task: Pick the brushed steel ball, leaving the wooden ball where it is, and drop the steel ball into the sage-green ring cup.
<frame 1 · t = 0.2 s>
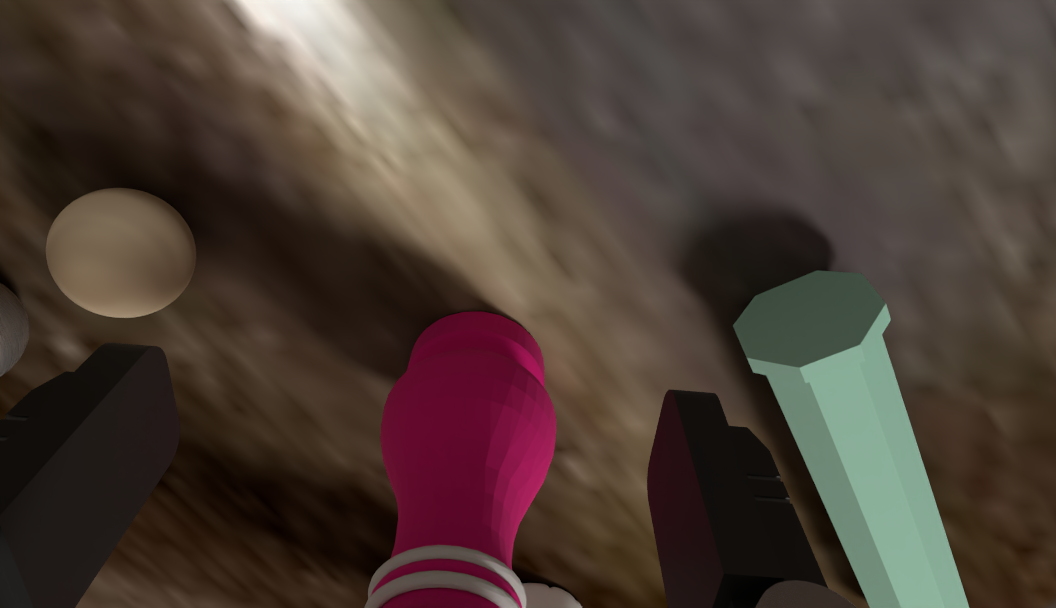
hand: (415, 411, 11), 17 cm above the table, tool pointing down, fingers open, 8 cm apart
mint green faceted rod: (853, 463, 36), on the table
wooden ball: (155, 225, 29), on the table
water bottle: (549, 607, 42), on the table
pepper mill: (478, 362, 33), on the table
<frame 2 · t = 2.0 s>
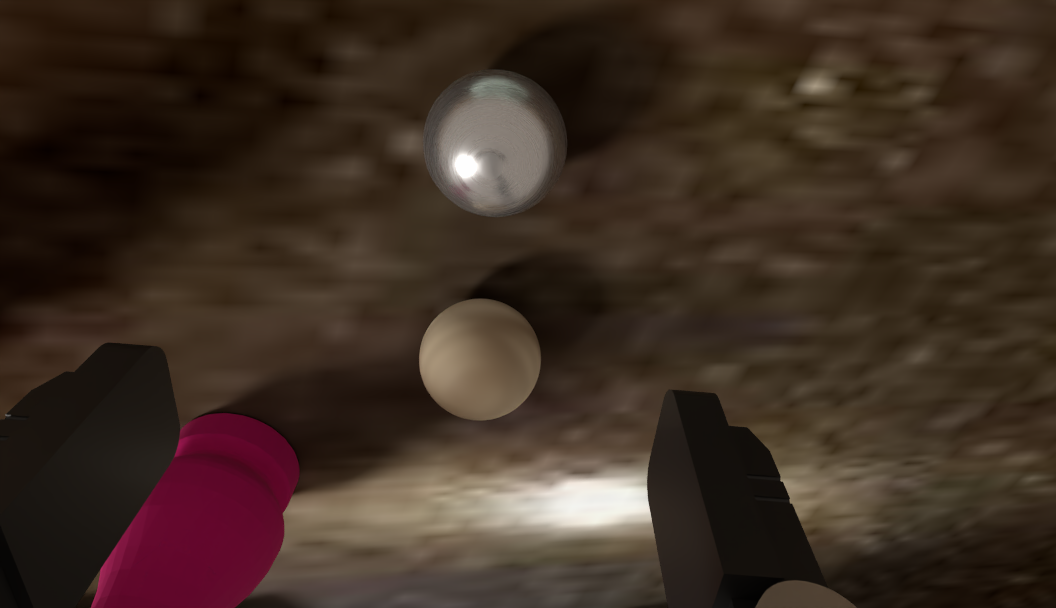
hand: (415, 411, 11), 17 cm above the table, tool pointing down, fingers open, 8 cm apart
wooden ball: (485, 327, 31), on the table
steel ball: (499, 125, 26), on the table
pepper mill: (239, 457, 35), on the table
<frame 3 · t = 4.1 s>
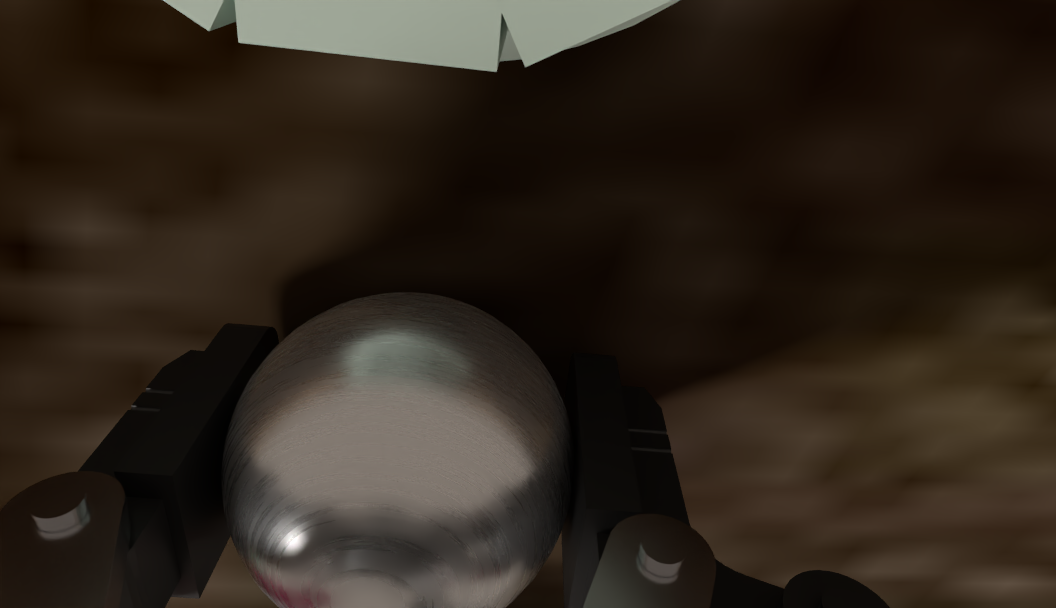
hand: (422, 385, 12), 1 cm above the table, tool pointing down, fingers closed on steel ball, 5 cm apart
steel ball: (428, 364, 12), on the table, touching gripper
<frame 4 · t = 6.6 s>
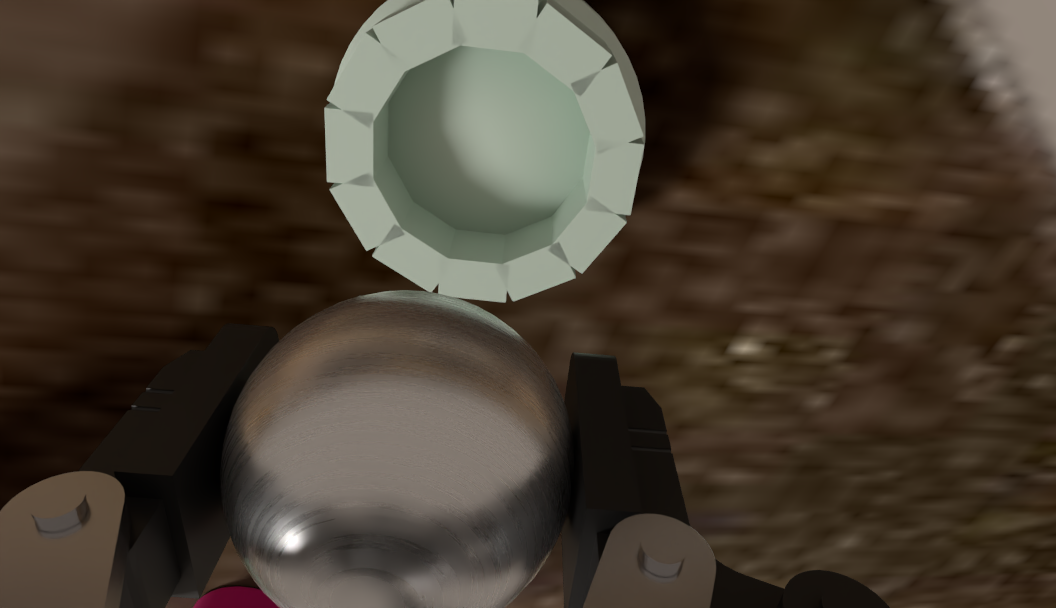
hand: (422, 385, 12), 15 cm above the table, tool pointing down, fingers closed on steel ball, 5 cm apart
steel ball: (428, 363, 12), point 15 cm above the table, touching gripper
ring cup: (489, 133, 25), on the table
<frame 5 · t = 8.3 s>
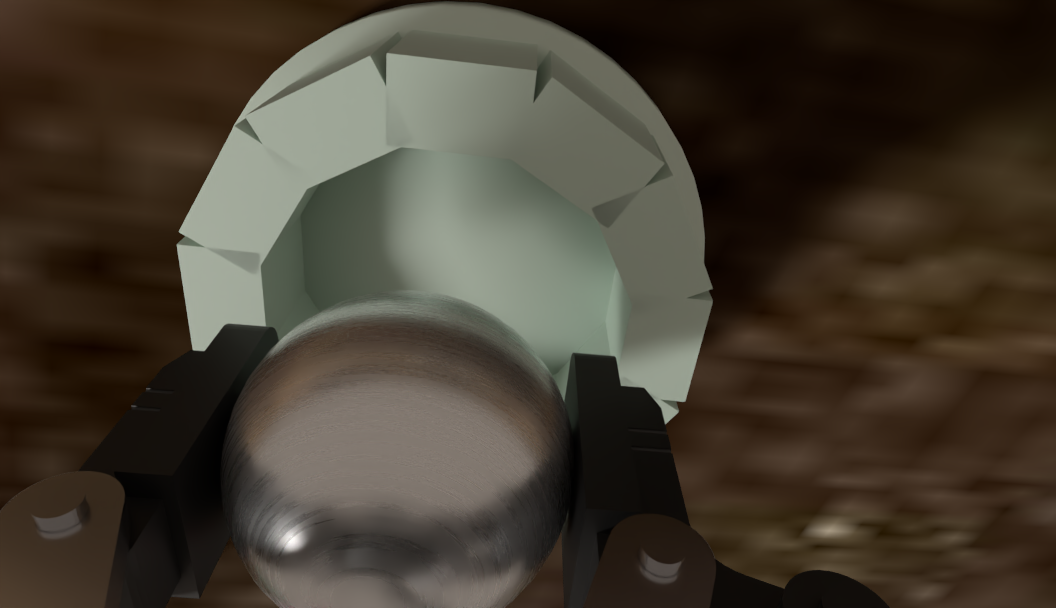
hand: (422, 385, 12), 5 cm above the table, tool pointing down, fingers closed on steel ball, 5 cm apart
steel ball: (428, 363, 12), point 5 cm above the table, touching gripper
ring cup: (463, 251, 17), on the table
when the fingers open (4 cm above the table, at t = 9.4 s): steel ball drops 3 cm, resting on ring cup.
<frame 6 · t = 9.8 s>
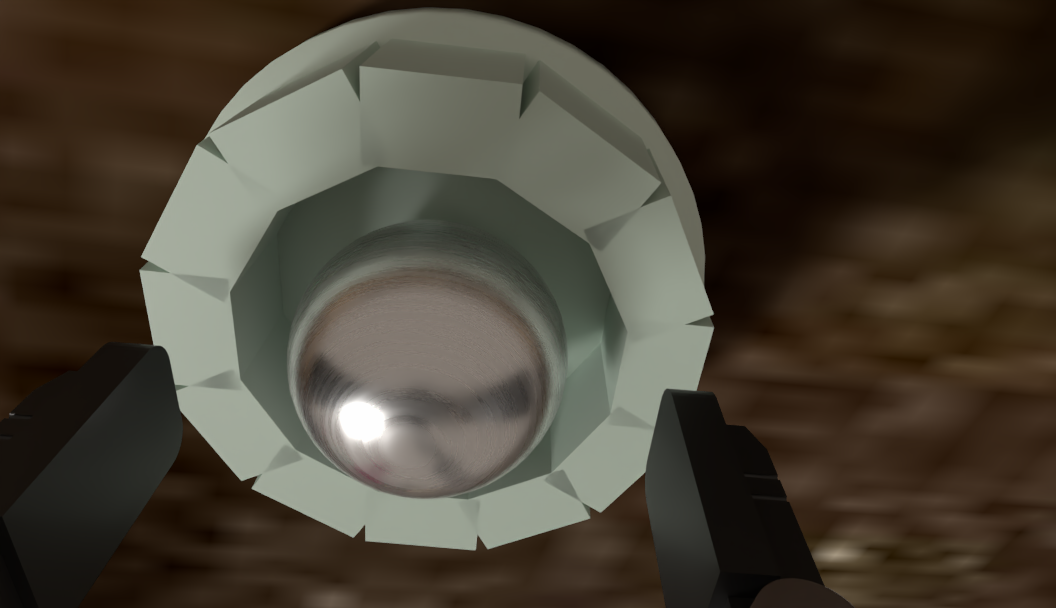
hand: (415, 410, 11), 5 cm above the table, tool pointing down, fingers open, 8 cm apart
steel ball: (447, 292, 15), point 1 cm above the table, touching ring cup
ring cup: (450, 269, 16), on the table
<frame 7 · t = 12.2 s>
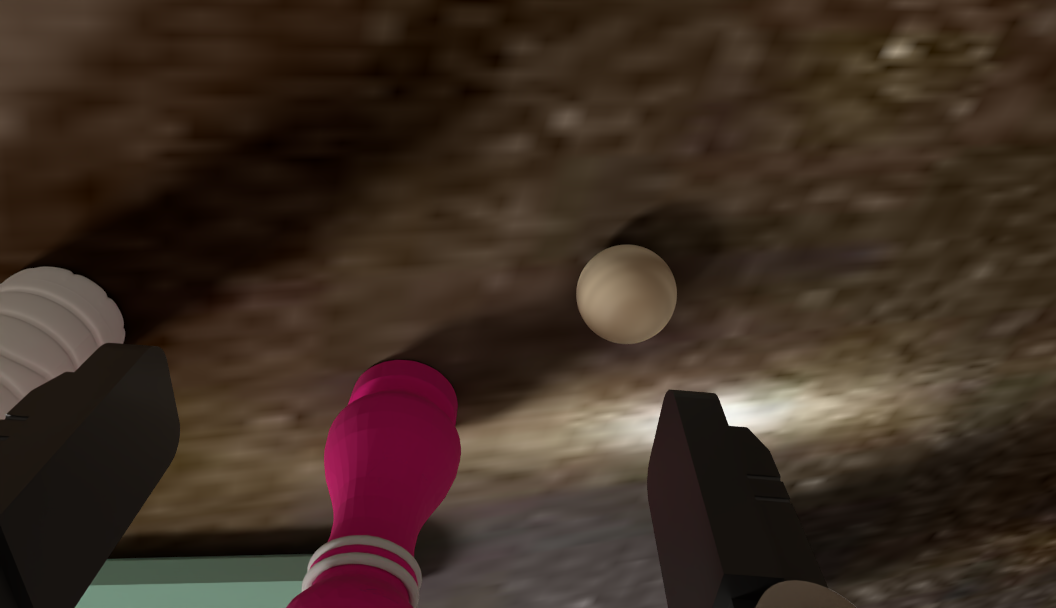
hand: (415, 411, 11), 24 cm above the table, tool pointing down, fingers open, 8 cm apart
mint green faceted rod: (220, 559, 49), on the table
wooden ball: (620, 271, 37), on the table
water bottle: (71, 331, 39), on the table
pepper mill: (406, 399, 42), on the table
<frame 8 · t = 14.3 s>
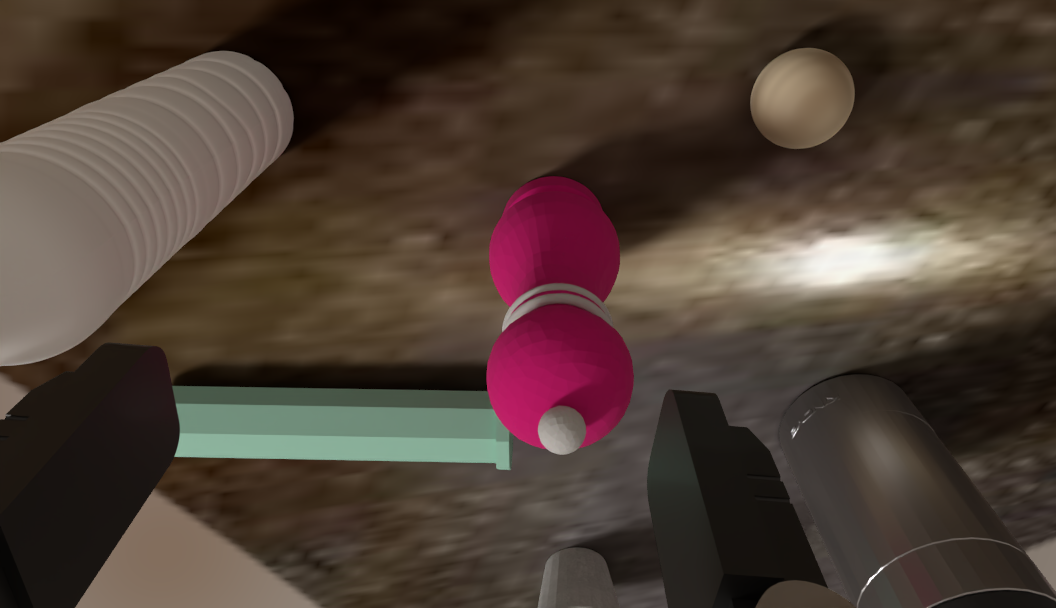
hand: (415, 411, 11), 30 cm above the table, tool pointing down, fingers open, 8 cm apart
mint green faceted rod: (338, 398, 50), on the table
wooden ball: (786, 88, 38), on the table
water bottle: (238, 128, 40), on the table
house plant: (585, 557, 57), on the table
pepper mill: (552, 223, 42), on the table
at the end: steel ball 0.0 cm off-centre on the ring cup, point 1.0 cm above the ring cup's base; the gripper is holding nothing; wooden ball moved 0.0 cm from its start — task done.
